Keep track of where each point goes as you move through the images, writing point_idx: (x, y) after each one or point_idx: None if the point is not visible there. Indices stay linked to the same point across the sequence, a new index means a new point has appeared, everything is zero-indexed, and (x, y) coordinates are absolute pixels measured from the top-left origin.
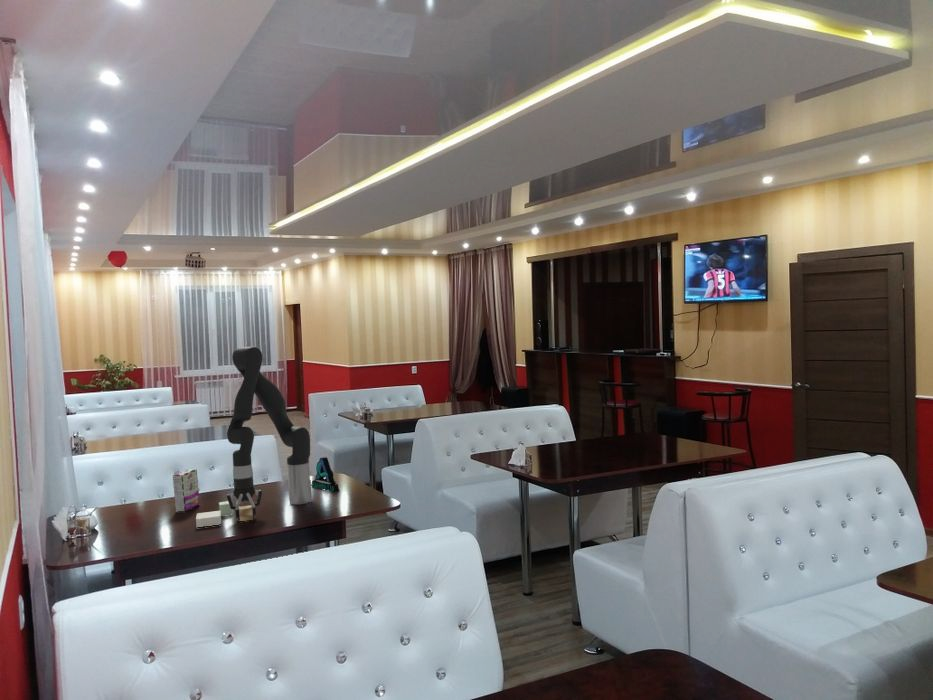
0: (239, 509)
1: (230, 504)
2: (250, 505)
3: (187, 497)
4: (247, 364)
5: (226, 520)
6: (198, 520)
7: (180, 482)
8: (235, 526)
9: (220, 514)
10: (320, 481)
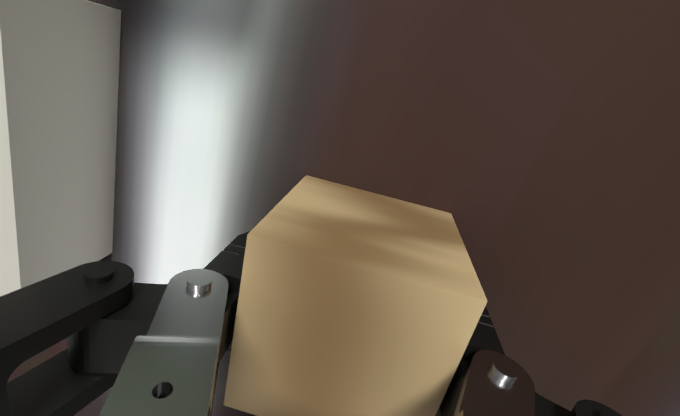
0: (230, 389)
1: (17, 412)
2: (465, 311)
3: None
4: None
5: (173, 117)
6: None
7: None
8: (220, 378)
9: (26, 186)
10: None
